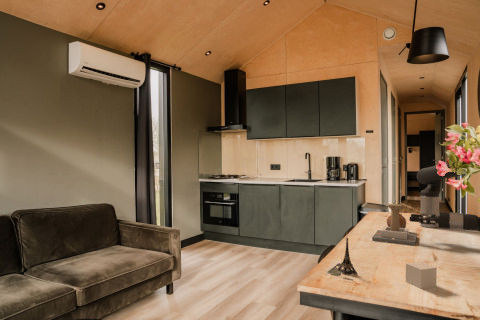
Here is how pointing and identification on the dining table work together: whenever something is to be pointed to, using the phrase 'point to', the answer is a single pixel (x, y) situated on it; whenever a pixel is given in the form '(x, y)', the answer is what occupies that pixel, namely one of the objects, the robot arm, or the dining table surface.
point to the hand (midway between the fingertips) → (410, 217)
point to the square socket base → (395, 236)
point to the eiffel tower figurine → (343, 265)
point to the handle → (395, 216)
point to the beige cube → (421, 275)
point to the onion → (401, 219)
